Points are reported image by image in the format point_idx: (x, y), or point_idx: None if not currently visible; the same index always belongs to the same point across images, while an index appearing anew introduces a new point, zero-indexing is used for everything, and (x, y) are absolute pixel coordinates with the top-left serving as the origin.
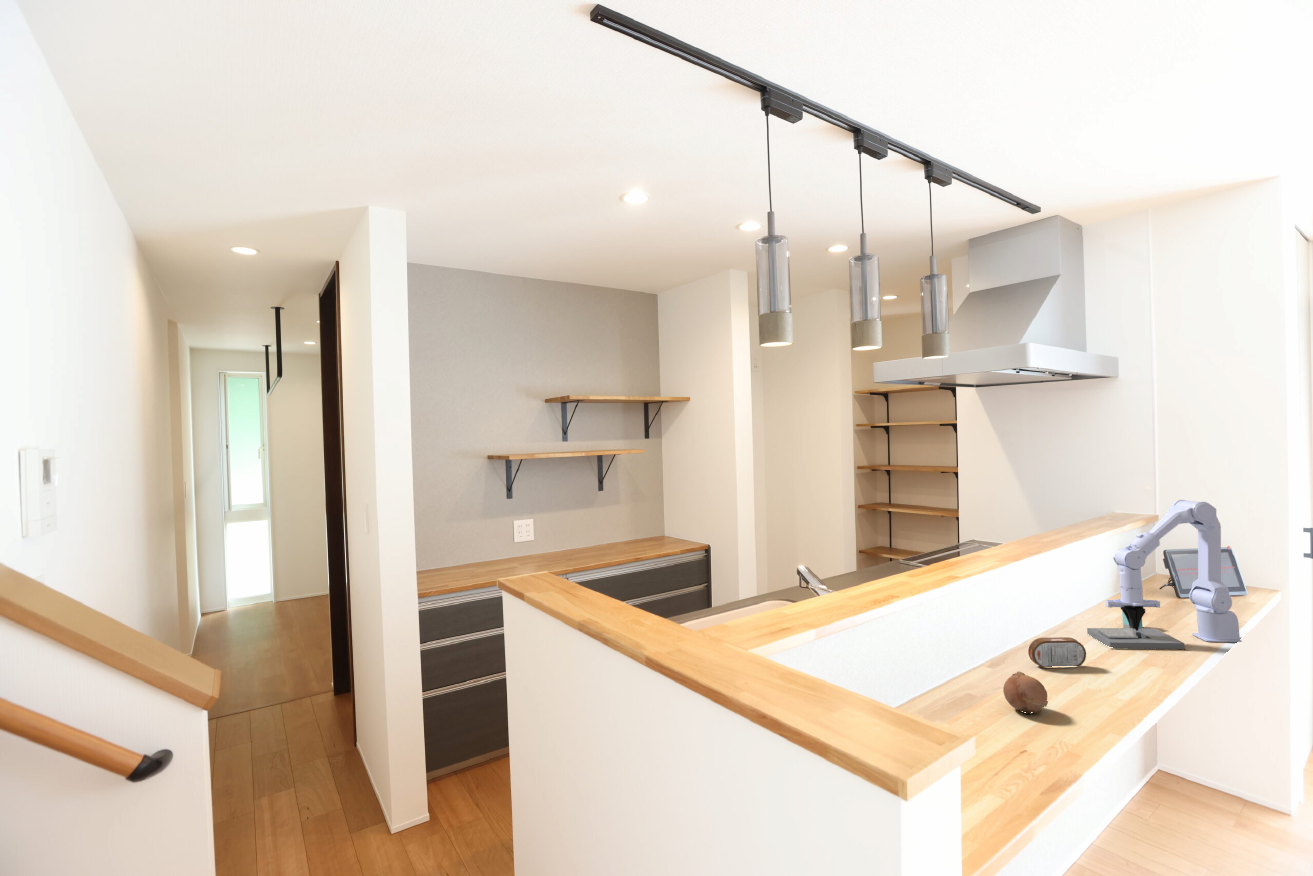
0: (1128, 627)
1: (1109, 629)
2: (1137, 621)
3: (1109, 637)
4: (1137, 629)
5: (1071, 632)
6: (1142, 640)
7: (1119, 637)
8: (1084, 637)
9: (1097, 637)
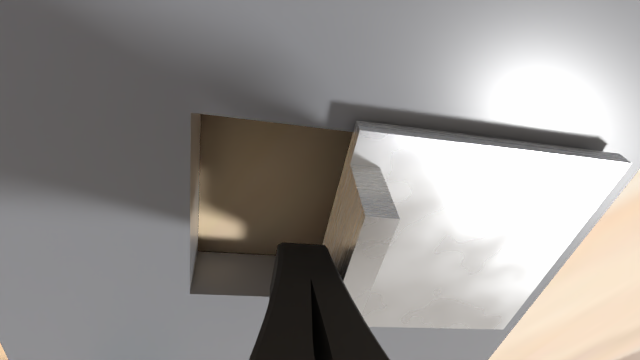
0: (366, 288)
1: (428, 322)
2: (300, 338)
3: (618, 154)
4: (291, 250)
5: (517, 349)
6: (349, 51)
7: (534, 144)
8: None
9: None
